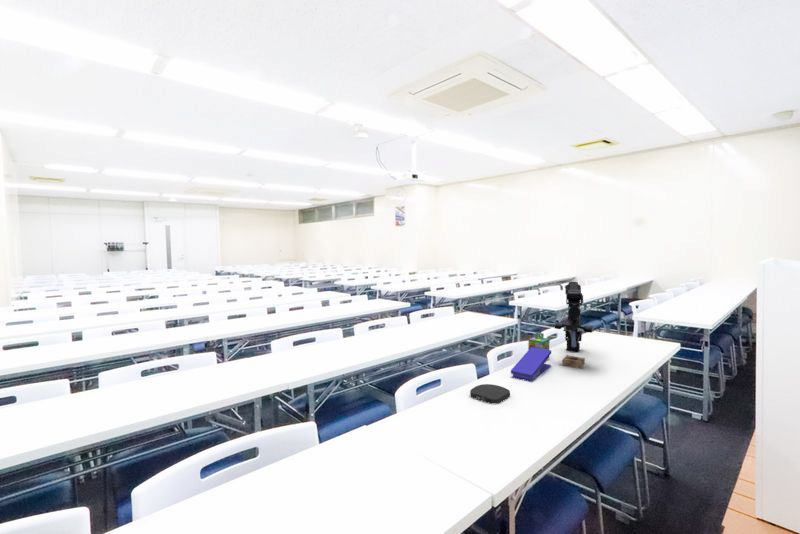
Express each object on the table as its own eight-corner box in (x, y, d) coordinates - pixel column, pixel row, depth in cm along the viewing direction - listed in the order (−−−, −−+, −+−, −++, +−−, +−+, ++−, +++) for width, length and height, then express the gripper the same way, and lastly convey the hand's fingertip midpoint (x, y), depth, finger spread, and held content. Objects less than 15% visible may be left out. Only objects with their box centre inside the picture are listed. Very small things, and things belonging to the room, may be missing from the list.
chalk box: (527, 359, 221) (527, 333, 220) (534, 355, 228) (534, 330, 227) (543, 362, 215) (543, 336, 214) (549, 358, 222) (549, 332, 221)
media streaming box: (513, 395, 171) (513, 389, 171) (496, 406, 161) (495, 399, 161) (484, 387, 181) (484, 381, 181) (466, 397, 171) (466, 390, 171)
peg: (570, 346, 208) (570, 332, 208) (572, 345, 210) (572, 331, 210) (575, 347, 207) (575, 332, 206) (576, 346, 209) (576, 331, 208)
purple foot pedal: (552, 367, 207) (552, 349, 207) (533, 382, 186) (533, 362, 185) (531, 363, 215) (531, 346, 214) (510, 378, 193) (510, 358, 192)
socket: (562, 365, 208) (562, 359, 208) (567, 361, 215) (567, 355, 215) (580, 368, 203) (580, 362, 203) (584, 364, 210) (584, 357, 210)
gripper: (551, 314, 207) (551, 343, 208) (589, 318, 195) (589, 348, 196) (557, 311, 216) (557, 339, 216) (594, 315, 204) (594, 344, 205)
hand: (573, 342), depth 208 cm, fingers closed on peg, 2 cm apart
